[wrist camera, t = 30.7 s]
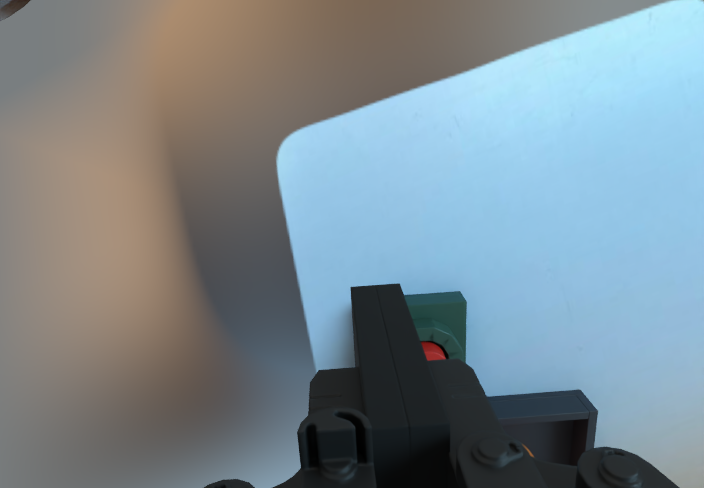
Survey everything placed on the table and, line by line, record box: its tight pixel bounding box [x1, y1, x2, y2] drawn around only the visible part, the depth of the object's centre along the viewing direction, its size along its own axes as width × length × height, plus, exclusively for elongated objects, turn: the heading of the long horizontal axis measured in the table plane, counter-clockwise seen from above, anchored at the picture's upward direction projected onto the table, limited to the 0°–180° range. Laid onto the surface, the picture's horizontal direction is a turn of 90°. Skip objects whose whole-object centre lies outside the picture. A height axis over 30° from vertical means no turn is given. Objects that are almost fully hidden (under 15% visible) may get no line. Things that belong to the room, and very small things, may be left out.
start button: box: [421, 342, 446, 361], centre depth 41 cm, size 4×4×2 cm
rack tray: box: [487, 390, 598, 466], centre depth 49 cm, size 15×15×3 cm
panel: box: [404, 291, 467, 363], centre depth 44 cm, size 8×9×4 cm
